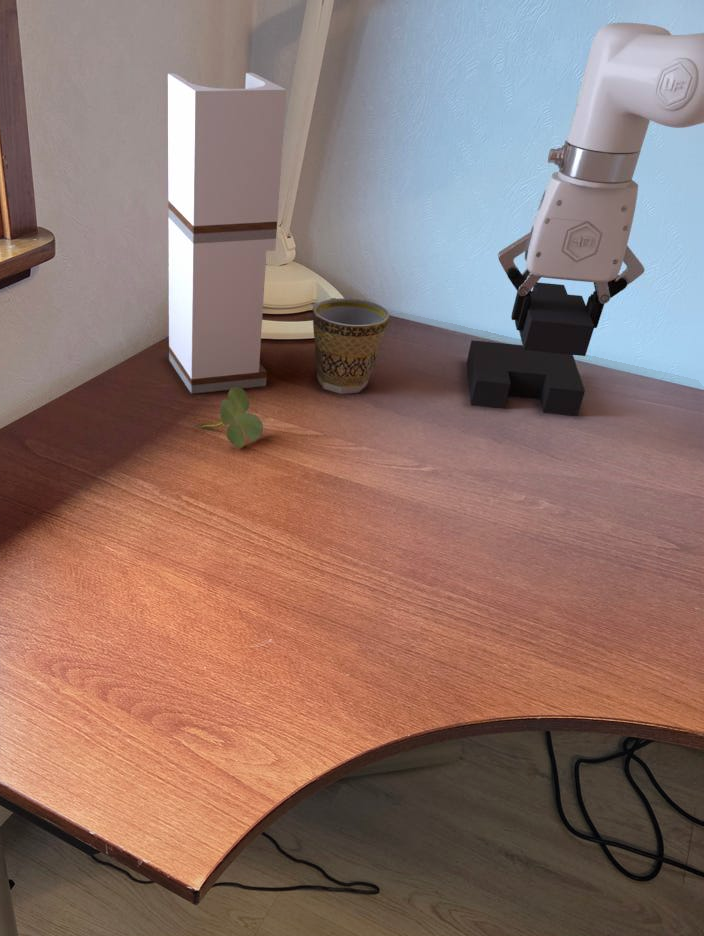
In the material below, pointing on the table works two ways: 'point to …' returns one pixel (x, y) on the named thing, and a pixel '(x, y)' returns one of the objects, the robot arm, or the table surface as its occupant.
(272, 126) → the tall square vase
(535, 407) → the table surface
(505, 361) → the notch pad
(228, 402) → the green clover leaf
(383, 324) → the ceramic cup
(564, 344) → the pad
